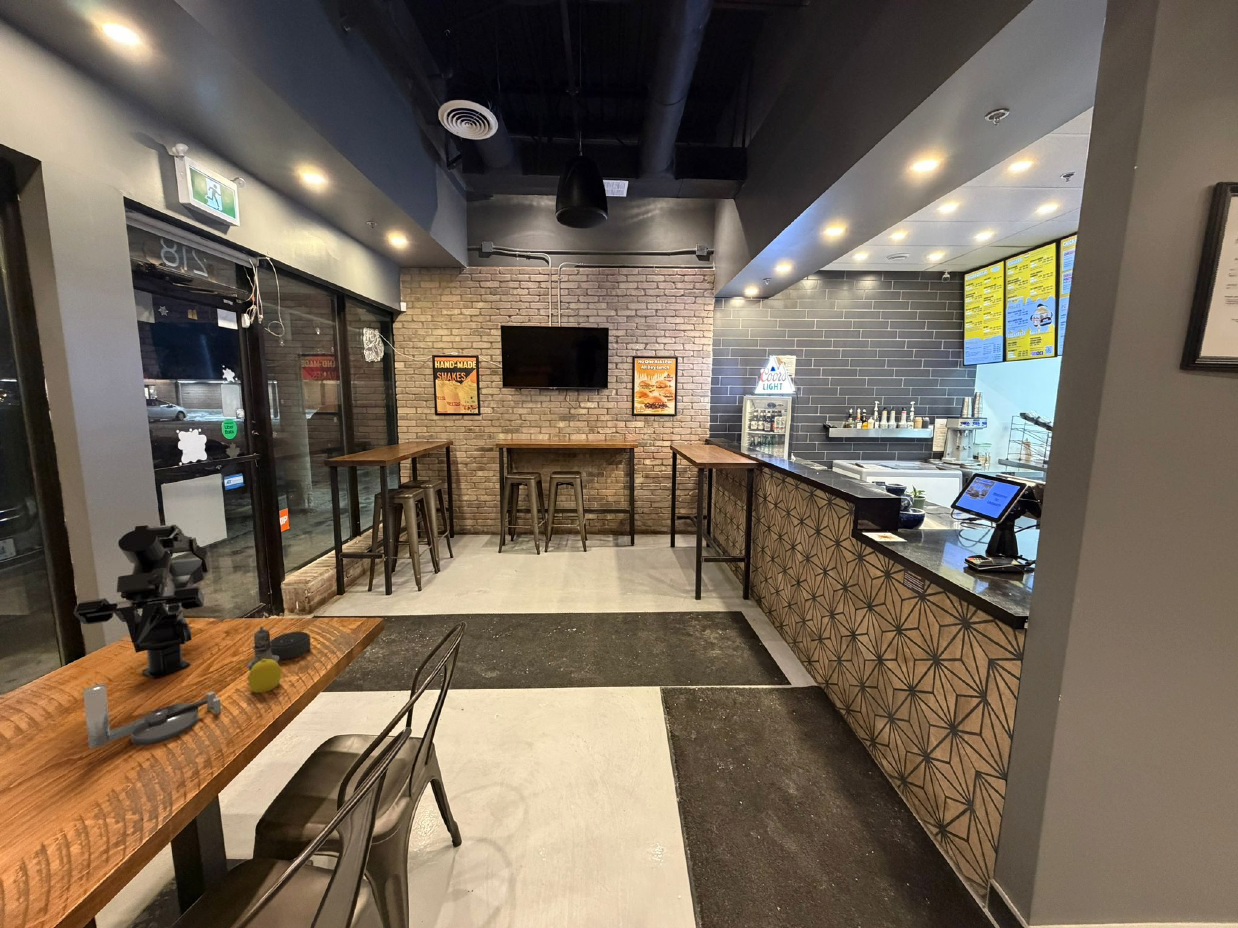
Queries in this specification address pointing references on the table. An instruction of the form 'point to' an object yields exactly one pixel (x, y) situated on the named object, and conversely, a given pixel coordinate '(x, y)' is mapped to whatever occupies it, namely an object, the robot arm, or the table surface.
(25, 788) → the table surface
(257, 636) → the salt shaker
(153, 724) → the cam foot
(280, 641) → the smart speaker
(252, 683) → the lemon
